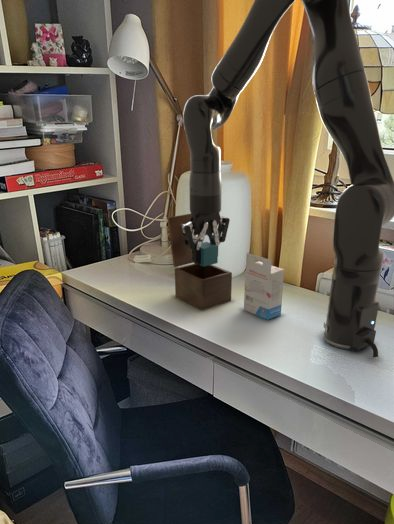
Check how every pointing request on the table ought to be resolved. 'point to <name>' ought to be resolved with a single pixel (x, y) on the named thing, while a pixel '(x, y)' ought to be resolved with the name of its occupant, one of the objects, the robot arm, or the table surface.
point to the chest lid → (179, 240)
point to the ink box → (263, 287)
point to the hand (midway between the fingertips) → (205, 261)
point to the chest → (203, 285)
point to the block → (208, 254)
